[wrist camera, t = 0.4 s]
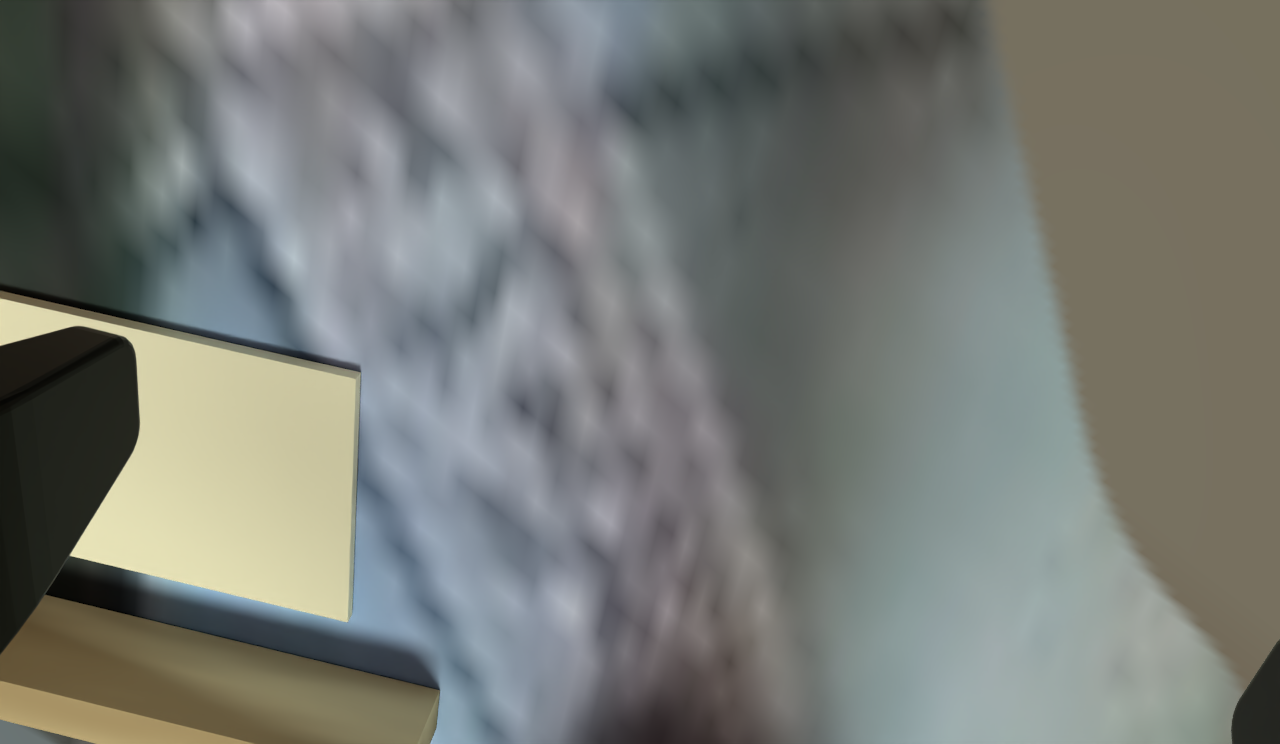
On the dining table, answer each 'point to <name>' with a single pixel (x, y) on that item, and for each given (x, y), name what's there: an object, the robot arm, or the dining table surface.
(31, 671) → the arena
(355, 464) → the pad
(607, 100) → the dining table surface
